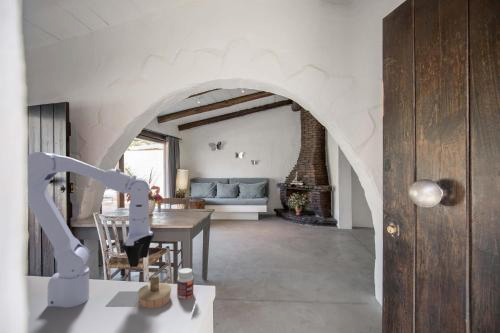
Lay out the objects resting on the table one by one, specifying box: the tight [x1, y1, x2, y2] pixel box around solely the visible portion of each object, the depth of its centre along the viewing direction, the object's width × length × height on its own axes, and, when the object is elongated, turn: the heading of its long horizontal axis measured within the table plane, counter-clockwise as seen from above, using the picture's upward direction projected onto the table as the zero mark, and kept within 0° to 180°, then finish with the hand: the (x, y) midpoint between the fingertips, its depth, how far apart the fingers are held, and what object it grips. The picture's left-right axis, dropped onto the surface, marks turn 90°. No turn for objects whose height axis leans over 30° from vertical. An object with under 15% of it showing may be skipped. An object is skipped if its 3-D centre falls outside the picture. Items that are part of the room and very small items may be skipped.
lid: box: [137, 274, 172, 301], centre depth 77 cm, size 9×9×5 cm
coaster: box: [105, 290, 140, 307], centre depth 78 cm, size 8×8×1 cm
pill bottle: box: [176, 267, 195, 300], centre depth 80 cm, size 5×5×8 cm
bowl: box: [139, 293, 171, 309], centre depth 77 cm, size 8×8×3 cm
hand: (139, 261), depth 83 cm, fingers open, 7 cm apart
